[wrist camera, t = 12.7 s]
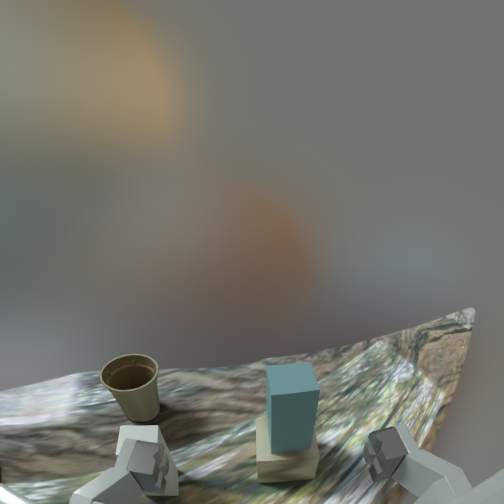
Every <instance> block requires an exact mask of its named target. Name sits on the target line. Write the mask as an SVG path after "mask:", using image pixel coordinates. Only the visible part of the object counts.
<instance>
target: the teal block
mask: <svg viewBox="0 0 504 504" xmlns="http://www.w3.org/2000/svg"><path fill="white" fill-rule="evenodd" d="M266 372H267V427H268V435H269V442H270V449H271V453H279V452H288V451H296V450H303V449H310V448H311V443H312V437H313V432H314V426H315V419H316V413H317V406H318V400H319V392H320V389H319V386H318V383H317V381H316V378H315V375H314V373H313V370H312V367H311V365H310V362H304V363H295V364H285V365H274V366H266Z"/></svg>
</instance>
